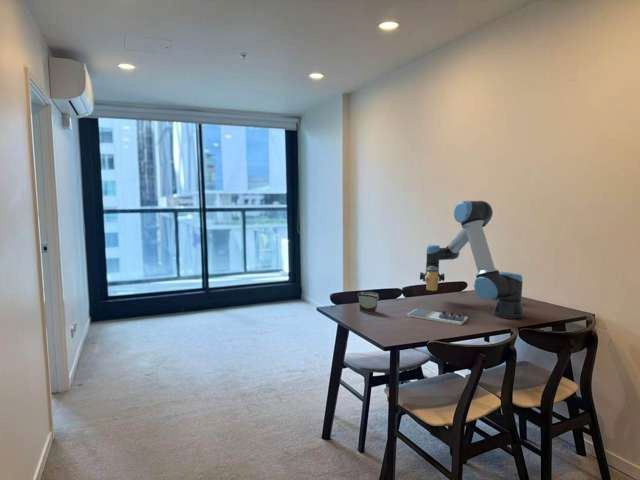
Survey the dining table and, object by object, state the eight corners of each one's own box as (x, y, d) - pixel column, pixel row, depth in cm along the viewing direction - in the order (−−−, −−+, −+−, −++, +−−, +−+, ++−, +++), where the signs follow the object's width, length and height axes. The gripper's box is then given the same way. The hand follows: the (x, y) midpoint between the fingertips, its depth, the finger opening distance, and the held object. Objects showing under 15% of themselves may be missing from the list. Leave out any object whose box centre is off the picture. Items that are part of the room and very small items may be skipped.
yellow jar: (439, 289, 243) (440, 268, 242) (435, 291, 238) (436, 270, 237) (428, 287, 247) (428, 267, 246) (424, 289, 241) (424, 269, 240)
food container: (382, 311, 241) (382, 293, 240) (377, 313, 236) (377, 295, 235) (362, 308, 247) (362, 290, 246) (357, 310, 242) (357, 292, 241)
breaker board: (467, 319, 227) (468, 310, 227) (460, 325, 216) (461, 315, 216) (416, 311, 242) (416, 302, 242) (407, 316, 232) (407, 307, 231)
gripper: (448, 280, 257) (450, 288, 235) (415, 278, 262) (413, 286, 239) (449, 267, 256) (450, 274, 234) (416, 266, 261) (414, 272, 239)
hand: (432, 280), depth 237 cm, fingers closed on yellow jar, 6 cm apart
